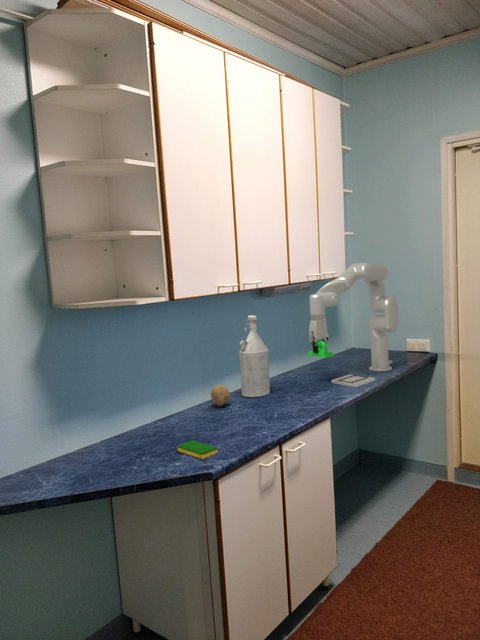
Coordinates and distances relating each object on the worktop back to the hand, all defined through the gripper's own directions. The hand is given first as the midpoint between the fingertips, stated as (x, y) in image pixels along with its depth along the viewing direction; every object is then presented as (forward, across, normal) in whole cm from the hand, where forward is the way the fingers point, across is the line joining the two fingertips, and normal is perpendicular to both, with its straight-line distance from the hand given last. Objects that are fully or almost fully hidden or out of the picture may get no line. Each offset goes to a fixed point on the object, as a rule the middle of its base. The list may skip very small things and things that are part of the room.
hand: (320, 351), depth 266 cm
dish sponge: (+17, +103, +29) cm, 108 cm away
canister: (+17, +35, -14) cm, 41 cm away
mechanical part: (+2, 0, 0) cm, 2 cm away
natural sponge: (+17, +59, -11) cm, 63 cm away
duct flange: (+17, -12, +11) cm, 24 cm away
